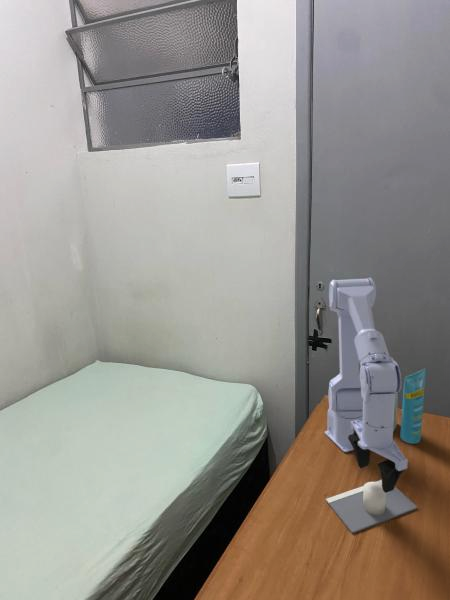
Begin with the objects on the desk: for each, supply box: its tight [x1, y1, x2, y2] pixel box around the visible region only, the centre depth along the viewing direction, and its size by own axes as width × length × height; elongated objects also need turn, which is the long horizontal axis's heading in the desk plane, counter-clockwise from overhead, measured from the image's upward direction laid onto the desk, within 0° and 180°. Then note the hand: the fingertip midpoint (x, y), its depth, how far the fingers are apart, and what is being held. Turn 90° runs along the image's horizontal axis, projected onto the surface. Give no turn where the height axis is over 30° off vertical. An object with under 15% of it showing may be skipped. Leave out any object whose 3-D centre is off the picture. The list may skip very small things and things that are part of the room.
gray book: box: [325, 478, 418, 534], centre depth 87 cm, size 10×16×1 cm, turn 109°
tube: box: [399, 367, 426, 445], centre depth 104 cm, size 7×5×19 cm, turn 123°
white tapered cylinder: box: [363, 481, 386, 515], centre depth 85 cm, size 4×4×4 cm
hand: (375, 477), depth 83 cm, fingers open, 7 cm apart
